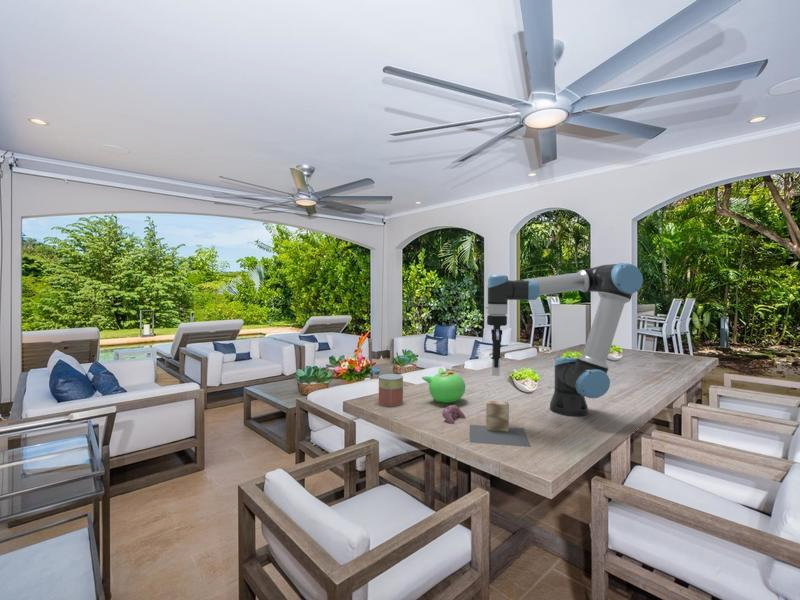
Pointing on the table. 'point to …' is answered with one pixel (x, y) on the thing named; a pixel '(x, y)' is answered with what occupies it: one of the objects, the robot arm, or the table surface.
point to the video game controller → (452, 413)
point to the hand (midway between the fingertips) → (495, 375)
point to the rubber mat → (499, 436)
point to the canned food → (390, 389)
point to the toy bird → (446, 386)
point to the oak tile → (497, 416)
